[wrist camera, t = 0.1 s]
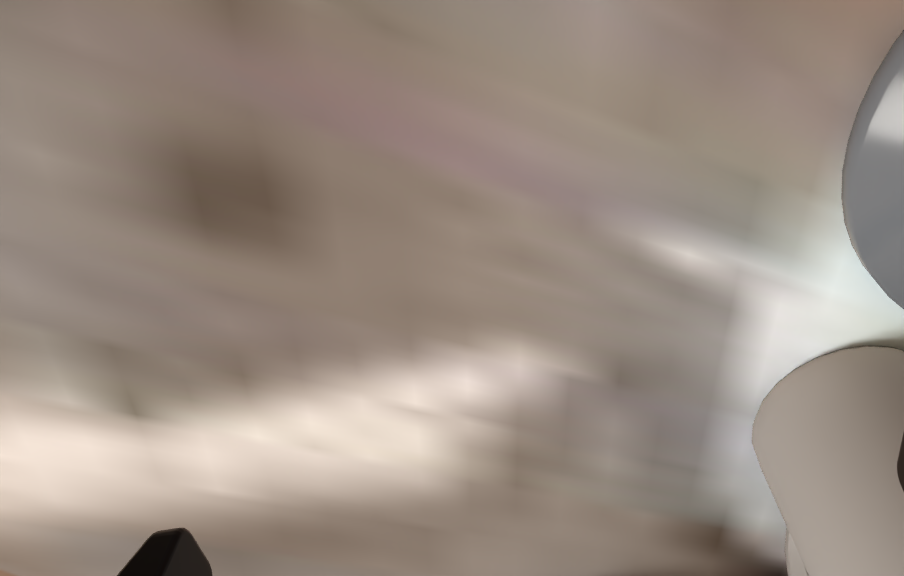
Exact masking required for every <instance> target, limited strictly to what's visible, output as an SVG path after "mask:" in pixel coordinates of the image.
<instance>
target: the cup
mask: <svg viewBox="0 0 904 576" xmlns="http://www.w3.org/2000/svg"><path fill="white" fill-rule="evenodd" d="M903 432H904V351H902V350H899V349H895V348H891V347H877V346H862V347H855V348H848V349H841V350H838V351H835V352H832V353H829V354H826V355H823V356H820V357H817V358H815V359H813V360H811V361H809V362H808V363H806V364H804V365H802V366H800V367H798V368H796V369H795V370H793V371H792V372H791V373H789V374H788V375H787V376H786V377H784V378H783V379H782V380H781V381H780V382H778V383H777V384H776V385H775V386H774V387H773V389H772V390H771V391H770V392H769V394H768V395H767V396H766V397H765V398H764V400H763V401H762V404H761V406H760V408H759V410H758V413H757V415H756V417H755V420H754V423H753V430H752V444H753V447H754V450H755V453H756V455H757V458H758V461H759V464H760V467H761V469H762V472H763V474H764V477H765V479H766V481H767V483H768V485H769V488H770V490H771V492H772V494H773V496H774V499H775V501H776V503H777V505H778V508H779V510H780V512H781V514H782V516H783V519H784V521H785V523H786V525H787V528H786V541H785V556H786V564H787V571H788V576H904V492H903V489H902V487H901V485H900V482H899V478H898V474H897V460H898V456H899V451H900V446H901V441H902V437H903Z"/></svg>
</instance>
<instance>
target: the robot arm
mask: <svg viewBox="0 0 904 576" xmlns="http://www.w3.org/2000/svg"><path fill="white" fill-rule="evenodd" d="M897 474H898V478H899V482H900V485H901V487H902V489H903V492H904V432H903V437H902V441H901V446H900V451H899V456H898V460H897ZM117 576H212V570H211V566H210V564H209V562H208V560H207V558H206V557H205V555H204V553H203V552H202V550H201V549H200V547H199V545H198V544H197V542H196V541H195V539H194V537H193V536H192V534H191V533H190V531H189V530H187V529H185V528H174V529H168V530H161V531H157V532H155V533H153V534H152V535H151V536H150V537H149V538H148V539H147V540H146V541H145V542H144V544H143V545H142V546H141V547H140V548H139V550H138V551H137V552H136V553H135V554H134V556H133V557H132V558H131V559H130V560H129V562H128V563H127V564H126V565H125V566H124V568H123V569H122V570H121V571H120V572H119V574H118V575H117Z"/></svg>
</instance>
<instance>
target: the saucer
mask: <svg viewBox="0 0 904 576" xmlns="http://www.w3.org/2000/svg"><path fill="white" fill-rule="evenodd" d="M842 205H843V213H844V221H845V225H846V228H847V231H848V235H849V238H850V241H851V244H852V246H853V248H854V250H855V252H856V254H857V256H858V257H859V259H860V261H861V263H862V265H863V266H864V267H865V268H866V270H867V271H868V272H869V273H870V275H871V276H872V277H873V278H874V280H875V281H876V282H877V283H878V284H879V286H880V287H881V288H882V289H883V291H884V292H885V293H886V294H887V295H888V297H890V298H891V299H892V300H893V301H895V302H896V303H897V304H898V305H899V306H901V307H902V308H903V309H904V30H903V32H902V33H901V34H900V36H899V37H898V38H897V40H896V41H895V42H894V44H893V45H892V47H891V49H890V50H889V52H888V54H887V55H886V57H885V59H884V60H883V62H882V64H881V65H880V67H879V69H878V70H877V72H876V74H875V75H874V77H873V79H872V81H871V83H870V85H869V88H868V90H867V92H866V94H865V96H864V98H863V100H862V103H861V105H860V107H859V109H858V112H857V115H856V118H855V121H854V124H853V127H852V130H851V133H850V136H849V139H848V144H847V149H846V154H845V160H844V165H843V171H842Z"/></svg>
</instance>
